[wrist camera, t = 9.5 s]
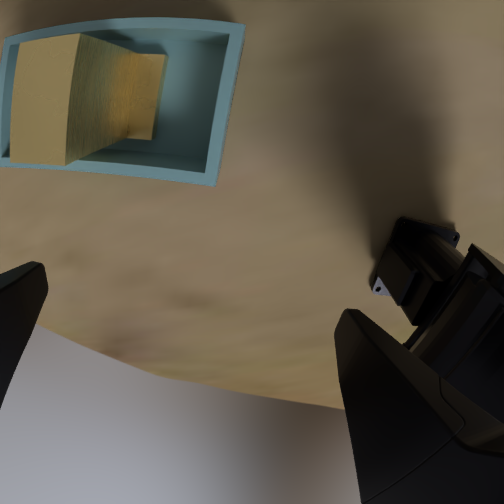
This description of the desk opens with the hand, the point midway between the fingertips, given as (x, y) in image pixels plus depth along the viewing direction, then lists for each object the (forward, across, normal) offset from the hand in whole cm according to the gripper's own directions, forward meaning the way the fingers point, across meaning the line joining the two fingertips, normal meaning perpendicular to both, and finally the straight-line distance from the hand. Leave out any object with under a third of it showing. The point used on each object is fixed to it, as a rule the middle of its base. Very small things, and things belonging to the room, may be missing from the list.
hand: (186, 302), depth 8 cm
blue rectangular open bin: (+12, +7, -5) cm, 15 cm away
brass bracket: (+11, +7, -5) cm, 14 cm away
